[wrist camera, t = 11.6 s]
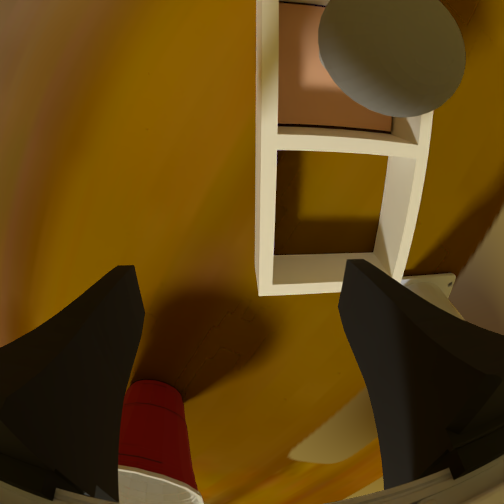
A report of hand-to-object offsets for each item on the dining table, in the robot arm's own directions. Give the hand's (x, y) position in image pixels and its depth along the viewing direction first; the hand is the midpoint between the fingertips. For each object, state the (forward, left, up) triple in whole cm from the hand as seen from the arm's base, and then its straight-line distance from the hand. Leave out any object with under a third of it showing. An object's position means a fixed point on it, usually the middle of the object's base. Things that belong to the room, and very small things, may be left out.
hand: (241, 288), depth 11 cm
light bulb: (+9, -6, -10) cm, 15 cm away
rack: (+8, -6, -10) cm, 14 cm away
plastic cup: (-21, +9, -11) cm, 25 cm away
